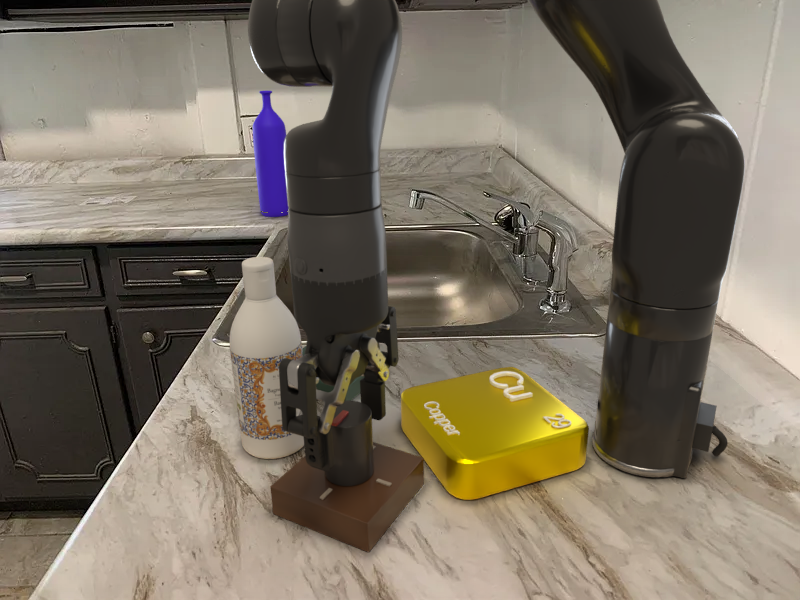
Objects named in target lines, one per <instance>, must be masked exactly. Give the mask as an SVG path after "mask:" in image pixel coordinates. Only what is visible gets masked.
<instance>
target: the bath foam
mask: <svg viewBox="0 0 800 600" xmlns="http://www.w3.org/2000/svg"><path fill="white" fill-rule="evenodd" d="M241 271H242V280H243V288H244V295H245V297H244V299H243V302H242V304H241V305H240V307H239V309H238V311H237V312H236V314H235V316H234V319H233V321H232V323H231V327H230V332H229V354H230V361H231V363H230V364H231V370H232V377H233V384H234V385H233V387H234V394H235V401H236V409H237V417H238V425H239V431H240V439H241V445H242V447H243V450H244V451H245V452H246V453H247V454H249V455H250V456H253V457H255V458H259V459H262V460H263V459H265V460H275V459H281V458H285V457H288V456H291V455H294V454H295V453H297V452H299V451H300V450H301V449H302V448H303V447H304V437H303V436H300V435H297V434H293V433H290V432H287V431H284V430H283V428H282V414H281V397H280V379H279V364H280V362H281V360H282V359H284V358H287V359H292V360H297V359H299V358H300V357H302V356H303V355H302V348H303V344H302V336H301V331H300V328H299V324H298V323H297V322H296V320H295V317H294V314H293V313H292V312H291V310H290V309H289V308H288V307H287V306H286V304H285V303H284V302H283V301H282V300H281V299H280V297H279V296H278V295H277V287H276V276H275V275H276V274H275V265H274V260H273V259H272V258H270V257H269V256H268V257H267V256H253V257H249V258H246V259H244V260H243V261H242V262H241ZM299 412H300V409H297V408H296V416H299Z"/></svg>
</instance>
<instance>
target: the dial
mask: <svg viewBox="0 0 800 600" xmlns="http://www.w3.org/2000/svg"><path fill="white" fill-rule="evenodd" d="M330 429H332V435H333V449H334V466H333V467H332V468H331V469H330V470H329V471H325V476H326V478H327V479H328V480H329V481H330V482H331V483H333V484H336V485H339V486H355V485H359V484H361V483H364V482H365V481H367V480H368V479H369V478H370V477H371V476H372V474H373V471H374V463H373V442H374V440H373V439H374V438H373V419H372V412H371V409H370V408H369V407H368V406H367V405H366V404H364V403H361V401H358V400H357V401H356V400H351V401H344V403H343V404H342V405H340V406H338V407H337V408H336V411H335V415H334V418H333V421H332V425H331V428H330Z"/></svg>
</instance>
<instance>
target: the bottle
mask: <svg viewBox="0 0 800 600" xmlns="http://www.w3.org/2000/svg"><path fill="white" fill-rule="evenodd" d="M258 93H259V94H260V95H261V100H262V108H261V110H260V112H259V114H258V115H257V116H256V117H255V119H254V121H253V123H252V143H253V155H254V166H255V176H256V185H257V195H258V204H259V210H260V213H261V215H262V216H263V217H267V218H278V217H286V216H288V212H287V211H288V202H287V190H286V179H285V166H284V140H285V137H286V135H287V130H286V125H285V122H284V120H283V119H282V118H281V116H280V115H279V114H277V112H276V111H275V110H274V109H273V107H272V100H271V94H273V90H259V91H258ZM261 211H263V212H268V213H263V212H261ZM281 212H283V213H281Z"/></svg>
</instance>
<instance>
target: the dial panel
mask: <svg viewBox="0 0 800 600" xmlns="http://www.w3.org/2000/svg"><path fill="white" fill-rule="evenodd" d="M373 463H374V471H373V474H372V476H371V477H370V478H369V479H368V480H367V481H365V482H364V483H361V484H359V485H355V486H339V485H336V484H333V483H331V482H330V481H329V480H328V479H327V478H326V476H325V471H323V470H320V469H317V468H314V467H311V466H310V465H309V464H307V462H306V459H305V456H304V457H302V458H301V459H299V461H298V462H297V463H295V464H294V465H293V466H292V467H291V468H290V469H289V470H288V471H286V472H285V473H284V474H283V475H281V477H280V478H278V479H277V480H276V481H275V482H274V483H272V484H271V485H270V487H269V488H270V497H271V505H272V514H273V515H275V516H277V517H279V518H282V519H284V520H287V521H290V522H292V523H294V524H298V525H299V526H302V527H304V528H307V529H309V530H312V531H314V532H317V533H319V534H322V535H325V536H326V537H328V538H329V537H330V538H331V539H334V540H337V541H339V542H341V543H344V544H347V545H349V546H352V547H354V548H356V549H359V550H361V551H364V552H366V553H370V552H371V550H372V549H373V548H374V547H375V545H376V544H377V543H378V542H379V541H380V539H381V538H382V537H383V536H384V534H385V533H386V532H387V530H388V529H389V528H390V527H391V525H392V524H393V523H395V522H394V521H395V520H396V519H397V518H398V517H399V515H400V514H401V513H402V512H403V511H404V509H405V508H406V507H407V505H408V504H409V503H410V502H411V501H412V499H413V498H414V497H415V495H416V494H417V493H418V492H419V490H421V488H422V487H423V486H424V484H425V467H424V466H425V460H424V458H423V457H422V456H421V455H417V454H414V453H410V452H406V451H403V450H400V449H397V448H393V447H390V446H387V445H383V444H380V443H378V442H375V441H373Z"/></svg>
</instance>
